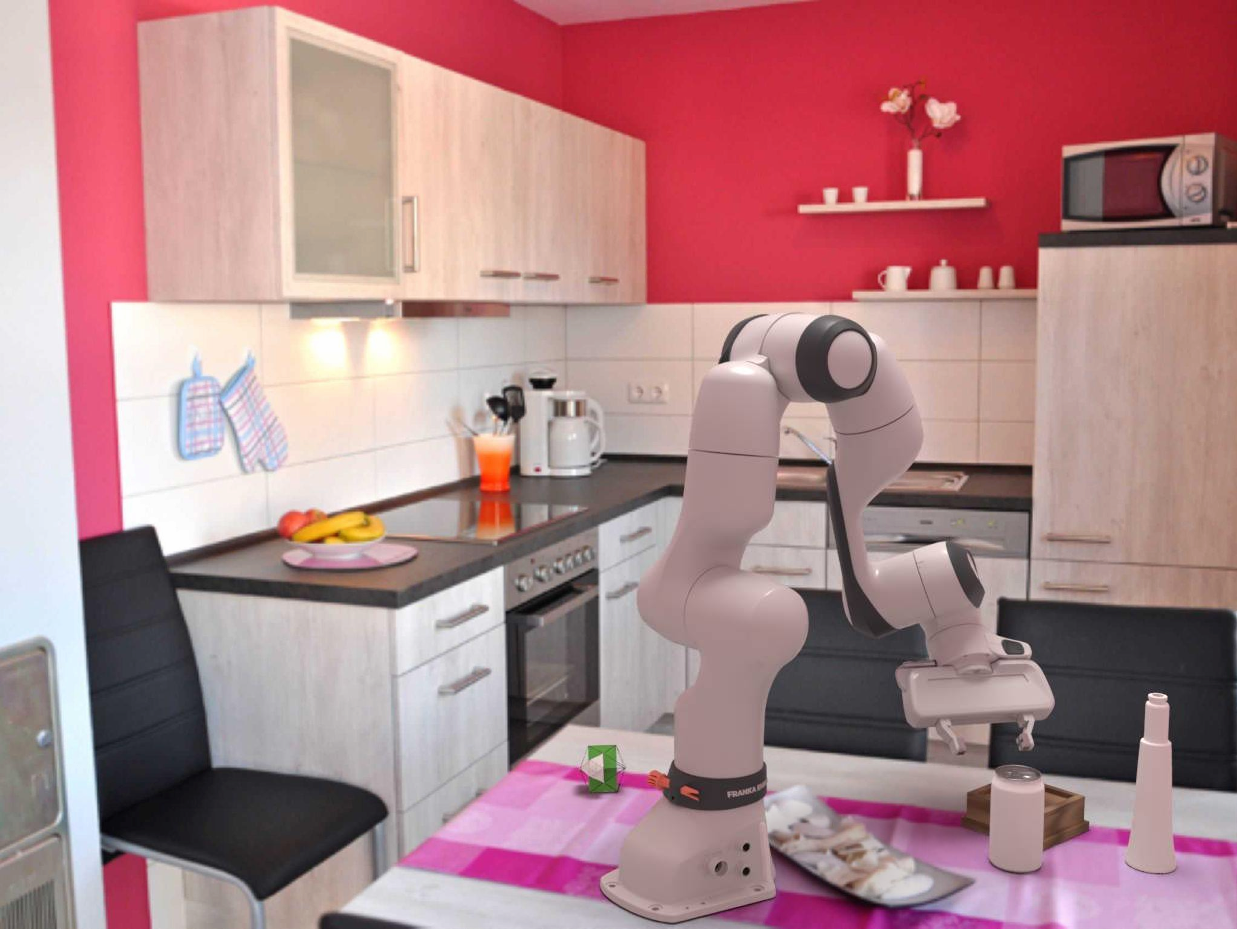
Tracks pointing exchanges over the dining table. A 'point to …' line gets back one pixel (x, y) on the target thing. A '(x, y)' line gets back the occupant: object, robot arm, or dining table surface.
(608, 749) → the geometric puzzle
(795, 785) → the dining table surface
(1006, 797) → the can
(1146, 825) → the pink bottle
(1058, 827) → the pedestal
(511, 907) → the dining table surface
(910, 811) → the dining table surface
